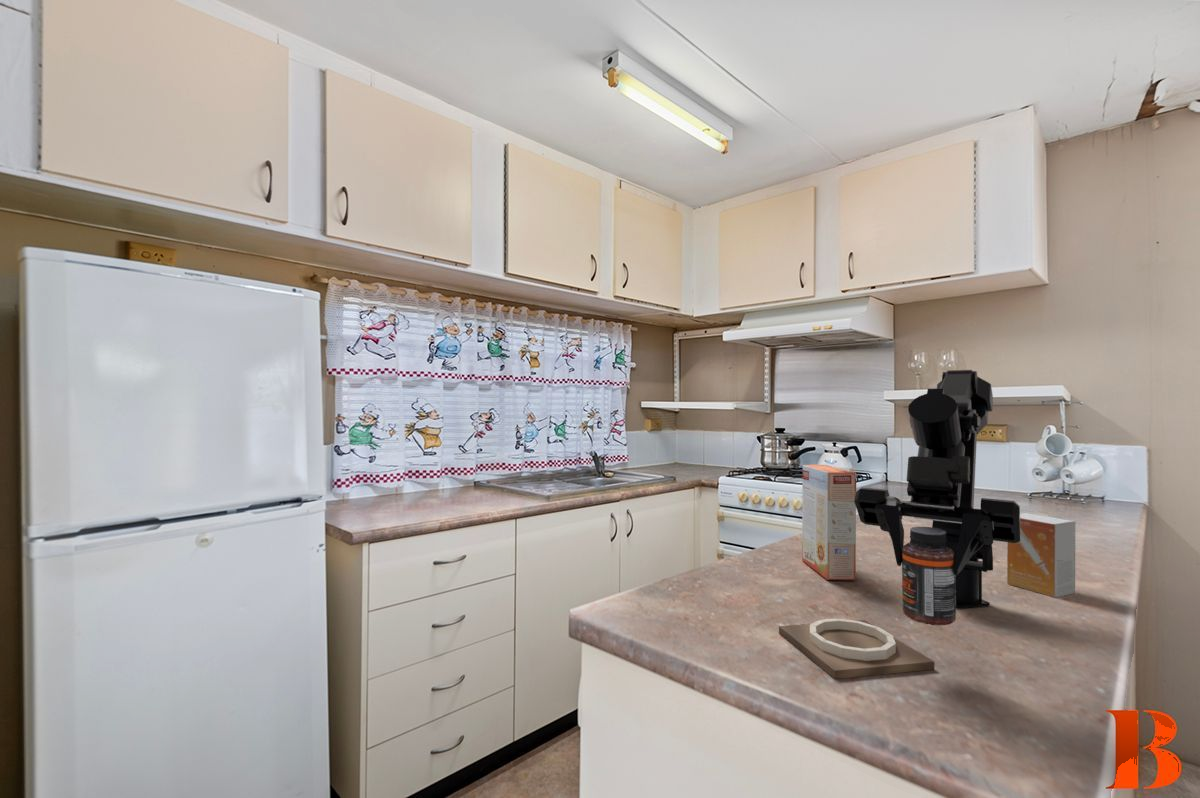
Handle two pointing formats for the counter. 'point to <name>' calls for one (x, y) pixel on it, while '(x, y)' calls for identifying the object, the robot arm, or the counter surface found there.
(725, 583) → the counter surface
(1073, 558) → the small box
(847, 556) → the cracker box
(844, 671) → the board
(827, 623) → the collar
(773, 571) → the counter surface
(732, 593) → the counter surface
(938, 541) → the supplement bottle
